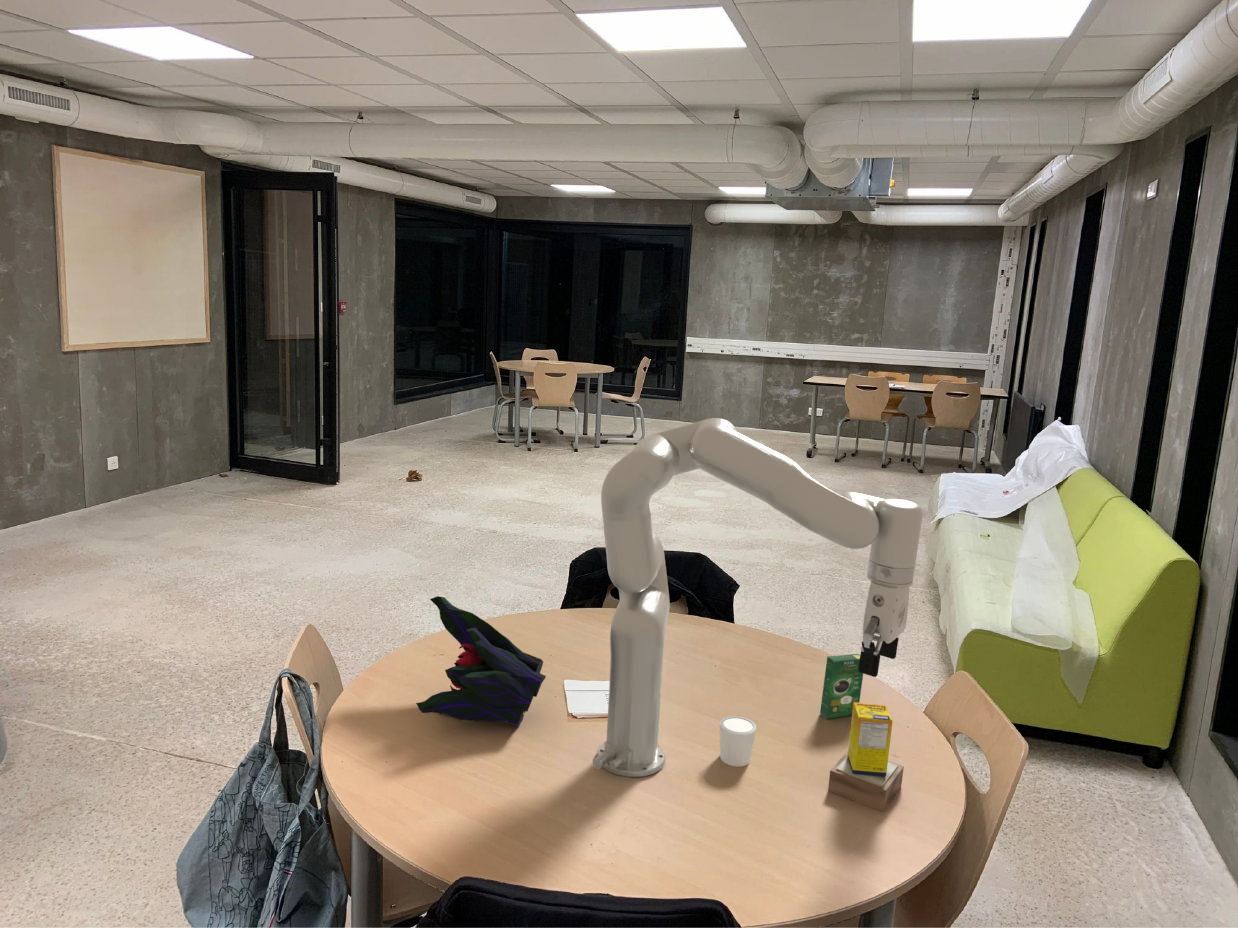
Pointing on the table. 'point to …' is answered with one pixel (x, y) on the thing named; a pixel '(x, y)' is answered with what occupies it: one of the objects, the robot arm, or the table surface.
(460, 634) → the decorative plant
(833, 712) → the coffee box
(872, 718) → the supplement box
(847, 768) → the brown small box
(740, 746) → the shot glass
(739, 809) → the table surface
